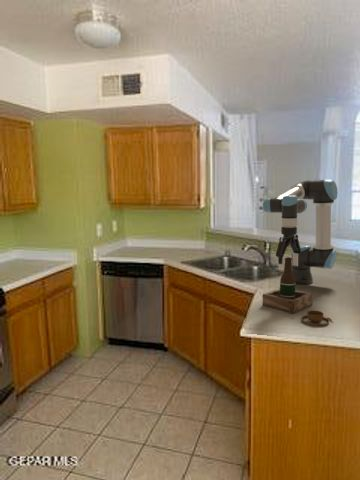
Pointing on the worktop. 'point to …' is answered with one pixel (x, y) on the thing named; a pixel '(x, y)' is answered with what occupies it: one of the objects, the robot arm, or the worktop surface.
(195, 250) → the worktop surface
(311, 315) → the brown cup and saucer
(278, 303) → the caddy
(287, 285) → the beer bottle
